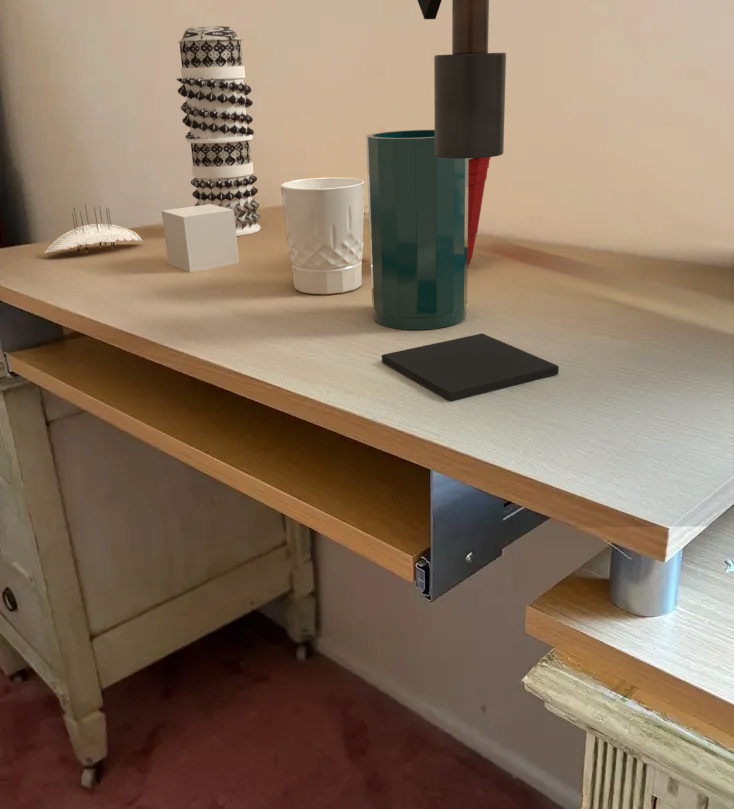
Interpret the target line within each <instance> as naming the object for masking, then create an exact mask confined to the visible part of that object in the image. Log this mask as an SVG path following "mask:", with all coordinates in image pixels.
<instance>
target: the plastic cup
mask: <svg viewBox="0 0 734 809" xmlns="http://www.w3.org/2000/svg"><path fill="white" fill-rule="evenodd" d="M490 160H491V157H486V158H469V168H468V267H470V265H471V262H472V261H471V260H472V258H473V255H474V250H475V249H474V248H475V244H476V236H477V233H478V232H479V231H478V230H479V224H480V218H481V211H482V205H483V200H484V199H483V198H484V192H485V187H486V186H485V185H486V180H487V177H488V169H489V168H490Z"/></svg>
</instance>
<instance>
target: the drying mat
mask: <svg viewBox="0 0 734 809" xmlns="http://www.w3.org/2000/svg"><path fill="white" fill-rule="evenodd" d="M381 362H382V363H383V364H384V365H386V366H388V367H390V368H391V369H393V370H395V371H396V372H398V373H400V374H402V375H403V376H405V377H407V378H409V379H411V380H413V381H414V382H415V383H417V384H419V385H421V386H423V387H424V388H426V389H428V390H429V391H432V392H433V393H435V394H436V395H438V396H440V397H442V398H444V399H445V400H447V401H449V402H452V401H455V400H461V399H463V398H468V397H471V396H476V395H479V394H483V393H487V392H491V391H494V390H499V389H503V388H508V387H511V386H516V385H519V384H524V383H527V382H531V381H535V380H539V379H543V378H546V377H550V376H555V375H558V374H559V370H560V369H559V365H557V364H555V363H553V362H550V361H548V360H546V359H543V358H541V357H539V356H536V355H534V354H532V353H529V352H528V351H526V350H523V349H520V348H518V347H516V346H514V345H511V344H509V343H506V342H504V341H501V340H499V339H497V338H494V337H492V336H489V335H488V334H485V333H477V334H472V335H467V336H463V337H459V338H453V339H449V340H444V341H440V342H435V343H431V344H426V345H422V346H417V347H412V348H408V349H402V350H398V351H393V352H389V353H383V354H381Z"/></svg>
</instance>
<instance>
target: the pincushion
mask: <svg viewBox="0 0 734 809" xmlns="http://www.w3.org/2000/svg"><path fill="white" fill-rule="evenodd" d="M86 205H87V204H84V207H85V209H87V206H86ZM93 207H94V208H93V210H94V211H96V207H95V206H93ZM98 208H99V209H101V206H99V207H98ZM73 211H74V213H76V211H75V208H73ZM87 212H88V210H85V213H86V215H88V213H87ZM105 212H106V213H110V208H109V207H107V208H105ZM74 213H72V214H71V215H72V216H71V217H72V221H73V222H75V223H73V227H74V228H73V229H71V230H68V232H65V233H63V234H62V235H61V236H58V238H56V240H53V242H52V243H51V244H50V245H49V246H48V247H47V249H45V251H44V252H43V253H44V254H49V253H53V252H54V253H55V252H59V251H65V250H67V251H68V250H70V249H74V248H77V252H78V254H81V252H80V248H82V246H85V251H86V253H89V249H88V246H87V245H94V244H98V243H99V248H100V249H102V243H104V246H107V243H111V244H110V247H111V249H112V250H113V249H115V248H116V245H115V242H116V241H119V242H124V241H127V242H131V241H132V240H133V241H135V242H142V243H144V240H143V239H142V238H141V236H140V235H139V234H138V233H136V232H135V231H134V230H131V229H129V228H127V227H123V226H119V225H115V224H112V222H111V220H107V223H103V222H101V223H98V219H97V218H95V222H96V223H91V224H89V222H87V224H86V225H84V224H83V221H81V224H82V226H79V227H78V226H75V225H78V221H77V220H75V219H77V215H76V214H74ZM79 213H80V214H82V211H79ZM99 213H100V215H102V212H101V210H99ZM94 215H95V217H97V214H96V212H94ZM82 216H83V215H80V219H81V220H83V217H82ZM74 217H75V218H74ZM106 218H107V219H111V216H110V214H106ZM86 219H87V221H89V218H88V216H86ZM100 221H103V218H102V216H100Z"/></svg>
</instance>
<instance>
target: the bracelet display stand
mask: <svg viewBox="0 0 734 809" xmlns="http://www.w3.org/2000/svg"><path fill="white" fill-rule="evenodd" d="M178 43H179V52H180V60H181V68H180V74H181V77H178V78H176V80H177V82H179V83H181V86H180V87H179V88H178V89H177V93H178V94H179V95H180V96H182V97H183V98H186V100H185V101H184V102H183V103H182V105H181V106H180V110H181V111H182V112H183V113H184V114H186V115H185V116H184V117H183V118H182V121H181V122H182V123H183V124H184V125H185V126H186V127H187V128H189V131H188V132H187V133H186V135H185V139H186V142H187V143H188V144H190V149H191V159H192V164H191V170H192V177H194V178H193V179H191V180H190V184H191V185H192V186H193V187H195V188H196V189H195V190H194V191H193V192H192V194H191V196H192V197H193V198H195V199H196V200H197V201H196V203H195V204H194V206H200V205H207V204H212V205H216V206H220V207H224V208H228V209H232V210H234V214H235V224H236V234H237V237H240V236H246V235H251V234H255V233H258V232H259V231H260V230H261V225H260V224H258V222H259V220H260V219H261V215H260V213H258V209H259V208H260V203H259V201H257V199H256V198H255V195H257V194H258V192H259V190H258V188H256V187H255V186H254V184H255V183H256V182H257V181H258V177H257V176H256V175H254V163H253V161H252V159H251V147H250V141H251V140H253V139H254V138H253V137H254V136H253V135H254V134H255V131H254V130H253V128H251V127H249V124H251V123H252V122H253V120H254V119H253V117H252V116H251V115H249V114H248V113H247V109H249V108H250V107H251V106H252V105H253V103H254V102H253V101H252V100H251V99H250V98H248V95H249V94H251V93H252V88H251V87H250V85H248V84H247V83H246V82H245V83H244V79H246V67H245V65H244V64H243V60H242V58H243V51H242V48H241V47H242V39H241V38H240V37H239V36H238V34H237V32H236V31H235V30H234V28H233V27H230V26H226V25H225V26H224V25H221V26H219V25H216V26H215V25H214V26H194V27H193V26H192V27H189V28H187V29H185V31H184V32H183V35H182V37H181V39H180V41H178Z"/></svg>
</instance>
